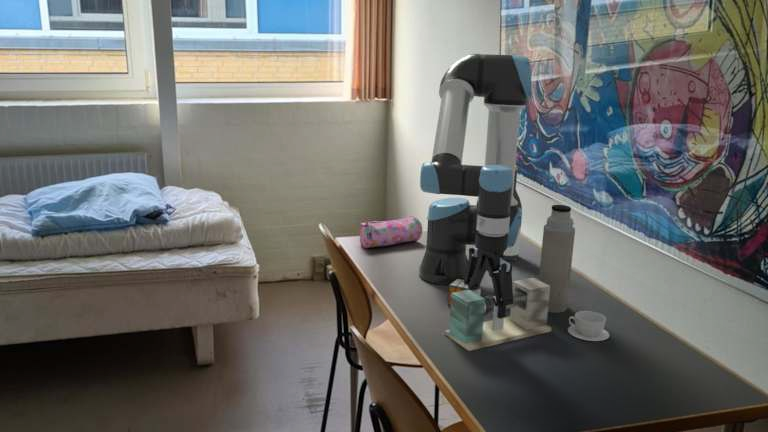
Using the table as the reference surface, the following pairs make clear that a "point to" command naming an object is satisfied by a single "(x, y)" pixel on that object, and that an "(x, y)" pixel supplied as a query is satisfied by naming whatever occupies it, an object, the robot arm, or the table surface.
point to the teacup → (588, 326)
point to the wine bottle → (513, 251)
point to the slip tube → (518, 299)
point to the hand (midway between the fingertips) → (485, 321)
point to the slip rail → (518, 325)
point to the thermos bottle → (557, 256)
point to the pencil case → (390, 232)
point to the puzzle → (456, 288)
